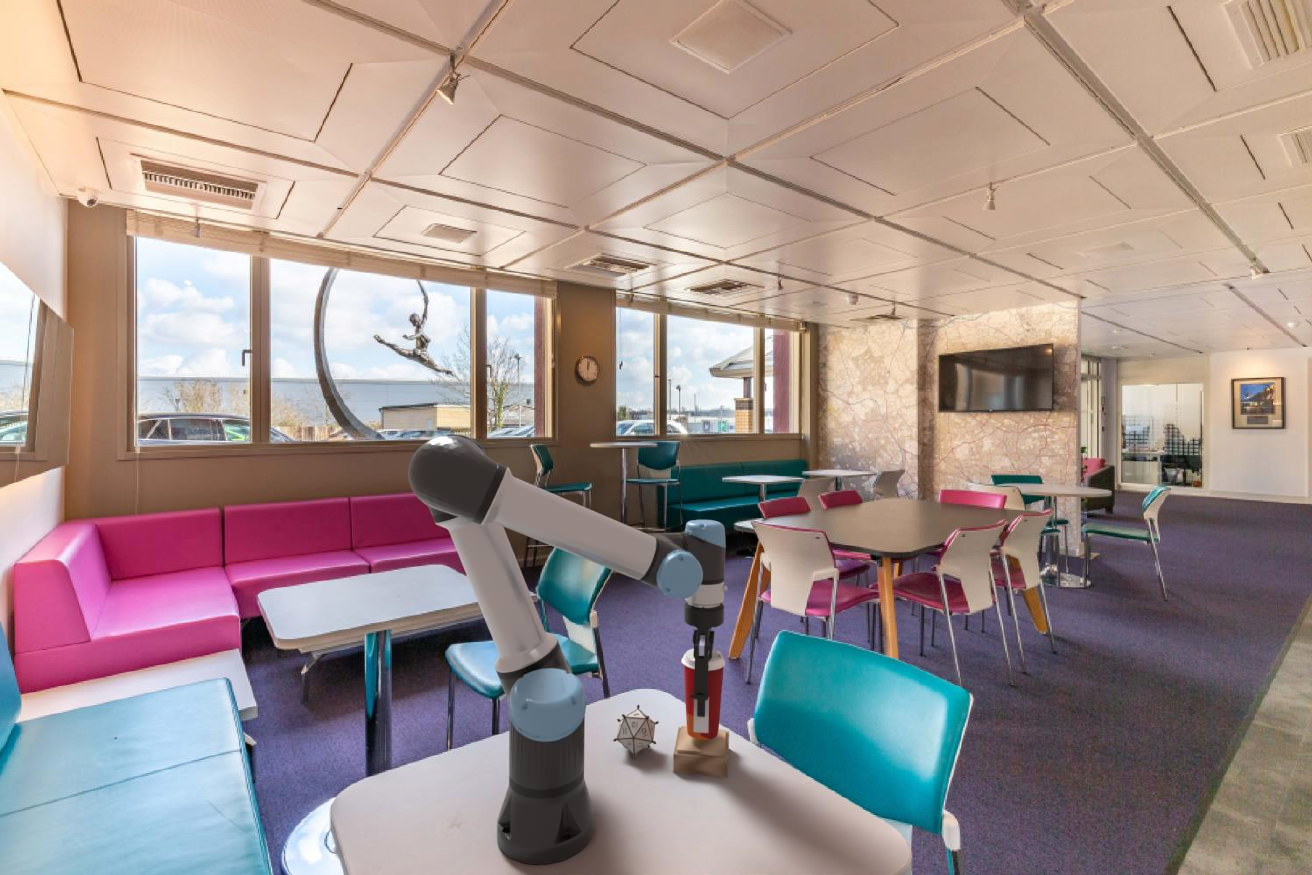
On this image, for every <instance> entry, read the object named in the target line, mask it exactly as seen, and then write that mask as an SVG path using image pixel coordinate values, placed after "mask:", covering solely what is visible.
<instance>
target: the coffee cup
mask: <svg viewBox="0 0 1312 875" xmlns="http://www.w3.org/2000/svg"><path fill="white" fill-rule="evenodd" d="M693 654H694V647H692V648H691V649H687V651H686V652H685V653H684V654H683V657H682V658H681V663H682V664H683V667H684V668H683V672H684V695H685V696H684V697H685V720H686V726H687V733H688V735H689V736H691V737H692V738H695V739H698V740H710V739H713V738H715V737H716V736H717V735H718V730H719V729H720V720H721V719H720V717H721V704H722V690H723V681H724V667H725V665H726V661H725V659H724V655H723V654H722V652H721V651H719V650H717V649H714V648H713V650H712V658H711V659H710V660H709V662H708V666H709V669H708V671H709V680H708V694H709V724H708V733H700V732H694V698H690V695H691V694H694V675H695V658H694V656H693Z"/></svg>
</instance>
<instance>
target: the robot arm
mask: <svg viewBox="0 0 1312 875" xmlns="http://www.w3.org/2000/svg"><path fill="white" fill-rule="evenodd" d="M407 476H408V483H409V485H410V486H409V487H410V488H411V491H412V492H413V494H414V495H415V496H416V497H417V499H418V500H420V501H421V502H422V503H423V504H425V505H426V506H427V507H428V509H429V511H430V514H431V515H432V516H431V517H432V518H433V519H432V520H433V521H434V524H435V525H437V526H439V527H442V528H444V529H447V530H448V532H449V535H450V538H451V540H452V543H453V544H454V548H455V549H456V552H457V554H458V555H457V556H458V557H459V559H460V562H461V565H462V567H463V569H464V572H465V574H466V576H467V579H468V581H469V584H470V587H471V588H472V590H473V593H474V596H475V598H476V602H477V603H478V606H479V608H480V611H481V614H482V615H483V618H484V620H485V623H486V625H487V628H488V630H489V633H490V634H491V637H492V638H491V639H492V640H493V643H494V645H495V647H496V650H497V652H498V656H497V658H496V661H495V663H494V670H495V672H496V673H497V674H496V675H497V676H498V679H499V682H500V684H501V686H502V687H501V688H502V689H503V691H504V694H505V696H506V699H507V706H508V707H507V708H508V709H507V710H508V729H509V730H508V732H509V733H508V734H509V735H508V736H509V740H508V742H509V744H508V745H509V746H508V750H509V751H508V752H509V753H508V774H509V775H508V787H507V790H506V793H505V796H504V799H503V801H502V806H501V808H500V811H499V814H498V817H497V821H496V822H497V823H496V840H497V845H498V847H499V848H500V851H502V853H504V854H505V855H506V857H509V858H510V859H512V860H515V861H517V862H520V863H524V864H529V865H530V864H531V865H546V864H553V863H557V862H561V861H563V860H566V859H569V858H571V857H572V856H575V855H576V854H577V853H580V852H581V851H582V850H583V849H584V848H585V847H587V845H588V844H589V843H590V842H591V840H592V839H593V836H594V833H595V827H596V826H595V825H596V824H595V823H596V820H595V817H596V815H595V807H594V804H593V801H592V798H591V795H590V793H589V789H588V786H587V782H586V781H585V730H586V729H585V727H586V725H585V718H586V710H587V701H586V700H587V698H586V695H585V693H586V692H585V687H584V685H583V683H582V681H581V679H580V678H579V677H577V675H575V674H573V670H572V668H571V664H570V663H569V661H568V660H567V658H566V656H565V654H564V652H563V650H562V647H561V645H560V643H559V639H558V637H557V636H556V634H553V633H550V632H548V631H545V628H544V626H543V623H542V620H541V618H540V615H539V613H538V610H537V607H536V606H535V603H534V600H533V599H532V595H531V593H530V590H529V588H528V585H527V583H526V581H525V578H524V576H523V573H522V570H521V568H520V566H519V562H518V559H517V558H516V556H515V555H516V554H515V553H514V551H513V548H512V545H511V542H510V540H509V538H508V535H507V533H506V530H505V528H507V529H509V530H512V531H514V532H516V533H518V534H522V535H524V536H526V537H529V538H531V539H533V540H537V541H539V542H542V543H544V544H546V545H549V546H552V547H554V548H557V549H559V550H562V551H564V552H567V553H570V554H571V555H574V556H576V557H579V558H582V559H584V560H587V561H589V562H592V563H594V564H596V565H599V566H602V567H605V568H607V569H610V570H611V571H614V572H616V573H620V574H621V575H624V576H627V577H629V578H632V579H635V580H637V581H639V582H640V583H643V584H645V585H648V586H651V587H653V588H656V589H658V590H659V591H660V592H661V593H662V594H663V595H665V596H666V597H668V598H671V599H673V600H685V603H684V611H683V612H684V614H683V616H684V618H683V619H684V622H685V624H687V625H688V626H691V627H694V628H696V629H694V630H693V634H692V643H693V648H694V654H693V656H694V658H695V675H694V694H691V695H690V698H694V732H700V733H708V724H709V694H708V680H709V671H708V669H709V666H708V662H709V660H710V659H711V658H712V650H713V649H714V644H715V630H712V628H718V627H721V626H722V625H723V624H724V621H725V605H724V604H723V602H724V601H725V593H724V592H727V591H728V588H729V587H728V586H727V585H725V566H726V564H725V562H726V561H725V560H726V547H727V545H726V531H725V530H726V529H725V526H724V524H723V523H721V522H720V521H716V520H712V519H695V520H693V519H692V520H689V521H687V522H686V523H685V524H686V525H685V529H684V531H680V532H663V533H662V532H657V533H654V532H653V533H652V532H651V533H649V532H648V533H646V532H644V531H642V530H639V529H636V528H634V527H632V526H630V525H627V524H625V523H623V522H620V521H618V520H615V519H613V518H611V517H608V516H606V515H604V514H601V513H599V512H597V511H594V510H592V509H590V508H587V507H586V506H582V505H580V504H578V503H576V502H573V501H572V500H568V499H566V498H565V497H561V496H559V495H557V494H555V493H552V492H551V491H548V490H547V489H543V488H541V487H538V486H536V485H534V484H532V483H530V482H526V481H525V480H522V479H520V478H517V477H515V476H513V473H512V471H511V469H510V467H508V466H506V465H504V464H501V463H499V462H497V461H494V460H493V459H492V458H489V457H488V455H487V453H486V450H485V449H484V448H483V447H482V446H481V444H480V443H478V442H477V441H476V440H474V439H472V438H471V437H469V436H466V435H463V434H456V433H449V434H444V435H439V436H438V437H435V438H432V439H430V440H428V441H426V442H425V443H423V444H422V445H421V446H420V447H419V448H418V449H417V450H416V451H415V452H414V453H413V456H412V457H411V460H410V463H409V465H408V475H407Z"/></svg>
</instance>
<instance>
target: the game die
mask: <svg viewBox="0 0 1312 875" xmlns="http://www.w3.org/2000/svg"><path fill="white" fill-rule="evenodd" d="M621 717H622V719H620V718H617V719H616V721H617V722H618V723H619V724H618V730H617V735H616V738H613V740H612V742H617V741H618V743H620V744H621V745H622V746H623V747H624V748H625V749H627V750H628V751H629V752H630V753H631V754H632V758H633V760H635V759H636V755H637V754H638V753H639V752H641V751H642V750H644V749H645V748H647V749H651V745H652V744H653V745H657V742H656V740H654V737H655V730H656V729H655V728H656V725H658V724H659V723H660V721H658V720H657V721H654V720H653V719H652V718H650V715H647V714H645V713H644V712H643V711H642V710H641V709H640V704H639V703H638V704H637V706H636V709H635V710H633V711H631V712H630V713H629V714H627V715H626V714H625V713H624V714H621Z"/></svg>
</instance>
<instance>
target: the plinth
mask: <svg viewBox="0 0 1312 875" xmlns="http://www.w3.org/2000/svg"><path fill="white" fill-rule="evenodd" d="M674 744H675V745H674V748H673V749H674V750H673V756H672V757H673V759H672V760H673V764H672V765H673V766H672V768H673V769H672V773H678V774H686V775H687V774H688V775H689V774H690V775H698V776H708V777H709V776H710V777H721V778H729V755H730V750H729V748H730V731H729V730H727V729H724V728H723V729H721V728H719V730H718V735H717V736H716V737H715V738H713V739H710V740H698V739H695V738H692V737H691V736H689V735H688V733H687V725H684V726H683V725H681V726H678V729H677V734H676V740H675V743H674Z"/></svg>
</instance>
